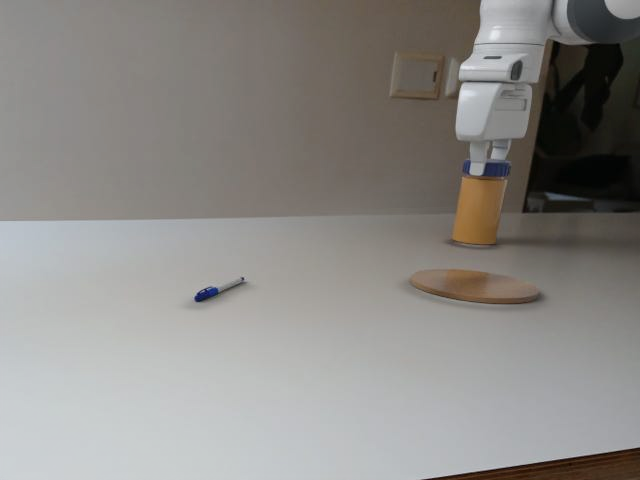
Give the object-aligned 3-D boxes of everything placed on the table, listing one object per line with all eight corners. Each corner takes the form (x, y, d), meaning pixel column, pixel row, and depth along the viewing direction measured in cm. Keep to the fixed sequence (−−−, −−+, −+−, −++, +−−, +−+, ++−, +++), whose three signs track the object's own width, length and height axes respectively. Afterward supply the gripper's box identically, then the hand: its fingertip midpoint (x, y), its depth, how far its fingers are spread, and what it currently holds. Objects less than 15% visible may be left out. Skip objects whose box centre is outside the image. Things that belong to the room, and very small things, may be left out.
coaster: (552, 288, 82) (553, 283, 82) (517, 311, 72) (518, 305, 72) (436, 268, 90) (437, 263, 89) (391, 286, 80) (392, 281, 80)
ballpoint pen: (200, 303, 71) (201, 293, 71) (192, 301, 72) (193, 291, 71) (245, 282, 80) (245, 273, 80) (237, 281, 80) (238, 272, 80)
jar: (501, 241, 109) (515, 167, 105) (487, 246, 105) (501, 169, 101) (460, 235, 113) (472, 163, 109) (445, 240, 108) (457, 165, 105)
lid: (453, 173, 105) (456, 159, 105) (475, 170, 109) (478, 157, 109) (495, 178, 101) (498, 163, 100) (517, 175, 105) (519, 161, 104)
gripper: (503, 72, 110) (486, 167, 114) (454, 65, 95) (437, 175, 100) (549, 72, 106) (530, 171, 111) (506, 65, 91) (485, 180, 96)
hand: (485, 173), depth 105 cm, fingers closed on lid, 6 cm apart
